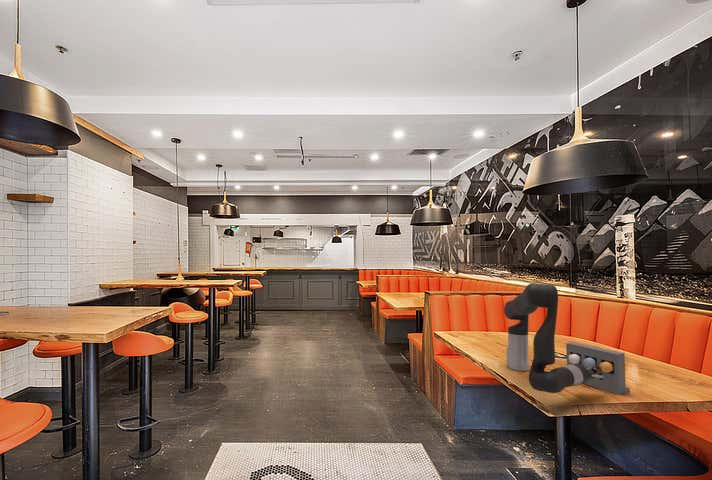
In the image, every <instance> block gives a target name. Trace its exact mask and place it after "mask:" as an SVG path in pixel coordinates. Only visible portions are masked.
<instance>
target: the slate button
mask: <svg viewBox="0 0 712 480" xmlns="http://www.w3.org/2000/svg"><path fill="white" fill-rule="evenodd" d="M584 365H585V366H591V367H593V366H597V361H596V359H594V358H592V357H590V358H586V359H584Z"/></svg>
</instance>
